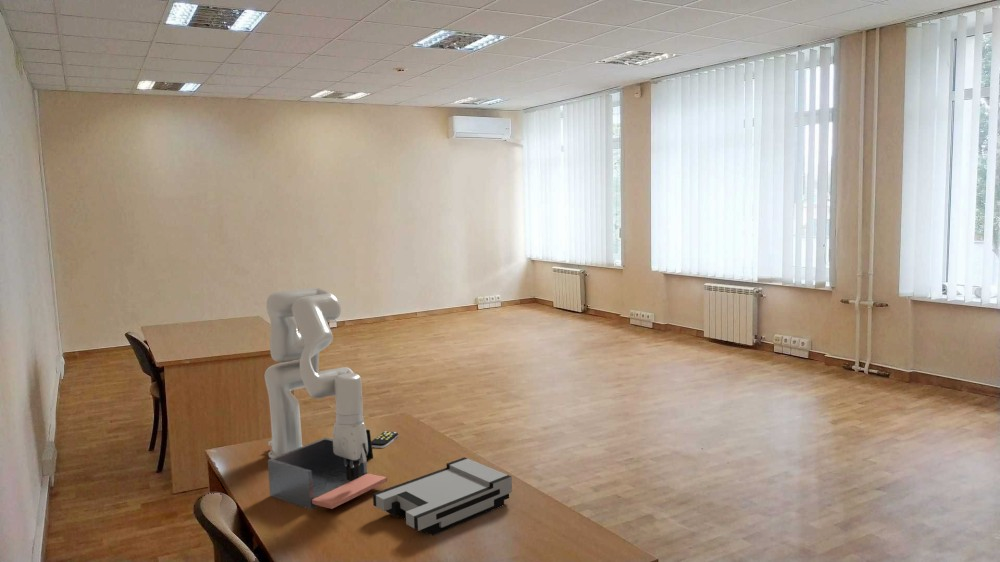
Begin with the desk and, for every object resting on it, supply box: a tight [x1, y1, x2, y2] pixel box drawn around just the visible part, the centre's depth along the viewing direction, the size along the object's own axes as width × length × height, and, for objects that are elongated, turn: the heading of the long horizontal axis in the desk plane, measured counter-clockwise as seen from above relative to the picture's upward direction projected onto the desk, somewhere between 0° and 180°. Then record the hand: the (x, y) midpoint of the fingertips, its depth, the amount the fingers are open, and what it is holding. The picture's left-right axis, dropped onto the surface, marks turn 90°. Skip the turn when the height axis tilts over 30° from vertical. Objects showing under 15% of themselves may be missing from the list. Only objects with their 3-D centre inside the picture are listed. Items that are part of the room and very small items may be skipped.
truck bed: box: [267, 437, 368, 510], centre depth 213 cm, size 18×22×11 cm
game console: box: [372, 456, 513, 536], centre depth 197 cm, size 21×32×8 cm, turn 132°
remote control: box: [371, 430, 399, 449], centre depth 254 cm, size 6×13×2 cm, turn 163°
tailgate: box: [312, 472, 388, 510], centre depth 206 cm, size 1×22×8 cm
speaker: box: [366, 429, 374, 459], centre depth 235 cm, size 8×6×10 cm
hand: (352, 478), depth 205 cm, fingers closed
